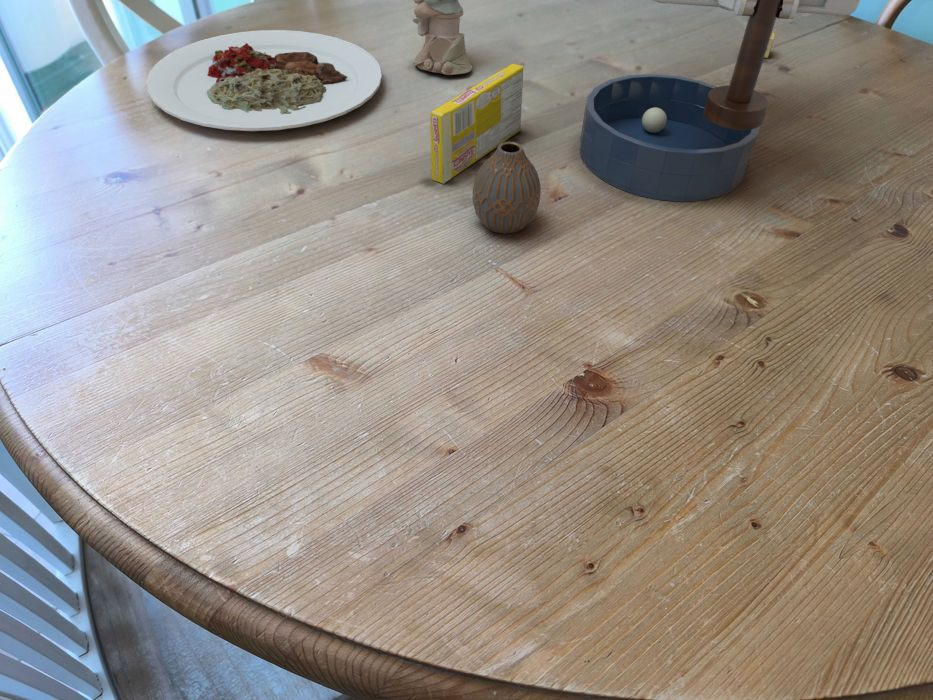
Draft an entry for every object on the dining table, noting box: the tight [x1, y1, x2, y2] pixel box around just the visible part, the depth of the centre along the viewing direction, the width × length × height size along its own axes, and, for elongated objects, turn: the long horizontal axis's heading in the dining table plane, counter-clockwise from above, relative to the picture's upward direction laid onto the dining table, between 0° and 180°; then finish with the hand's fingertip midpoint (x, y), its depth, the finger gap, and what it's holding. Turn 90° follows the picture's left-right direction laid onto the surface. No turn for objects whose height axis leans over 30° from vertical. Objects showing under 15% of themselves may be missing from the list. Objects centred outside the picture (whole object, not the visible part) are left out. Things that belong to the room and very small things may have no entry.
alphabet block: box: [764, 32, 776, 59], centre depth 114 cm, size 3×3×3 cm
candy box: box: [429, 62, 524, 185], centre depth 86 cm, size 16×2×8 cm, turn 145°
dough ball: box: [642, 108, 667, 133], centre depth 93 cm, size 3×3×3 cm
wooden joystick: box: [704, 0, 782, 130], centre depth 71 cm, size 6×6×19 cm
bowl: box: [579, 73, 761, 202], centre depth 88 cm, size 20×20×6 cm
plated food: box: [145, 29, 383, 132], centre depth 98 cm, size 30×30×3 cm
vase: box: [472, 141, 542, 235], centre depth 76 cm, size 7×7×9 cm
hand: (767, 8), depth 69 cm, fingers closed on wooden joystick, 2 cm apart
